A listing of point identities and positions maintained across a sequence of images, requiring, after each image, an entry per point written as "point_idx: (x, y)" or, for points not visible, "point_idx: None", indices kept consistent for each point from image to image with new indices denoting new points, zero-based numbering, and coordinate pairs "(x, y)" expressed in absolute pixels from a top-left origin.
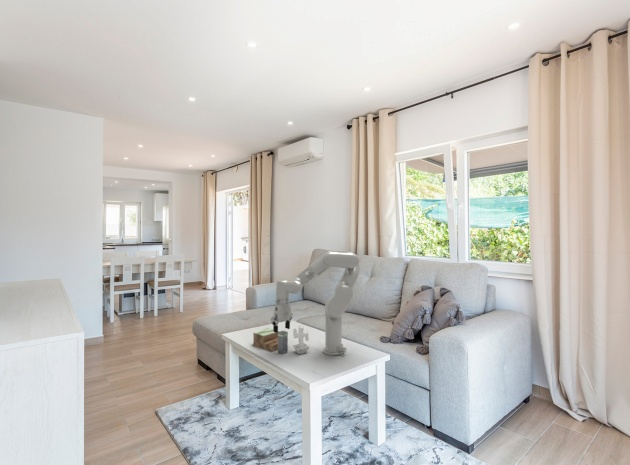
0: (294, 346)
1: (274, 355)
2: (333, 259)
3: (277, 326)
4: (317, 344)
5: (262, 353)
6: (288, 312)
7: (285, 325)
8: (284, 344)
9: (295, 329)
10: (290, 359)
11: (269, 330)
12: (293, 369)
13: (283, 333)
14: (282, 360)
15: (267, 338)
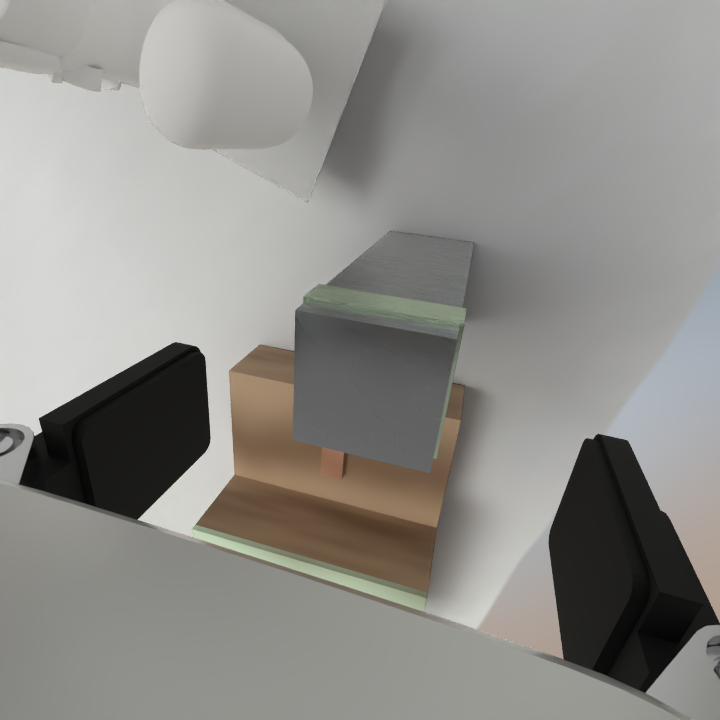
0: (329, 146)
1: (555, 306)
2: None
3: (681, 578)
4: (4, 73)
5: (560, 445)
6: None
7: (175, 473)
8: (432, 263)
9: (193, 17)
10: (593, 17)
11: None
12: None
13: (434, 333)
14: (680, 101)
15: (383, 546)
